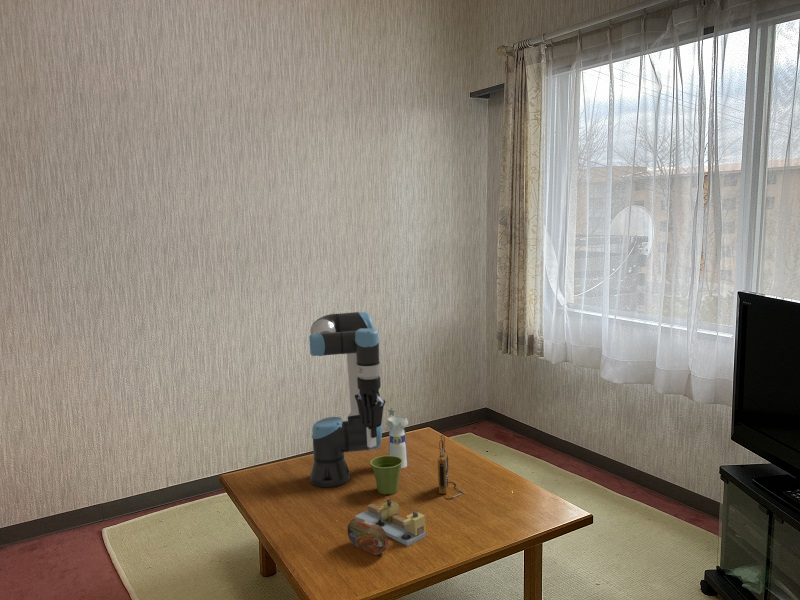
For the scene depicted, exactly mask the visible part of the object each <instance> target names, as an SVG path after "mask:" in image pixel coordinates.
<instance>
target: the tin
mask: <svg viewBox="0 0 800 600" xmlns="http://www.w3.org/2000/svg"><path fill="white" fill-rule="evenodd" d="M347 535H348V539H349V541H350V542H351V544H352V545H353V547H355V548H357V549H360V550H362V551H365V553H369V554H371V555H374V556H380V555H381V554H383V553H384V552H385V551H386V550H387V549H388V546H389V540H388V536H387V534H386V532H385V531H384V529H383V528H382V527H381V526H379V525H376V524H374V523H371V522H369V521H366V520H364V519H360V518H359V519H356V520H355V519H353V520H351V521H349V523H348V525H347Z"/></svg>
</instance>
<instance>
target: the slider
mask: <svg viewBox="0 0 800 600" xmlns="http://www.w3.org/2000/svg"><path fill="white" fill-rule="evenodd" d="M379 507H380V508H378V509H377V512H378V523H379V524H382V521H381V519H382V520H384V521H386V522H389V523H390V522H391V516H393V515H395V514H396V515H398V516H400V505H399V503H398V502H396V501H393V500H392V499H387V500H386V501H385V502H383V503H381V504H380V506H379Z"/></svg>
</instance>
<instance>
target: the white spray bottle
mask: <svg viewBox="0 0 800 600" xmlns="http://www.w3.org/2000/svg"><path fill="white" fill-rule="evenodd" d="M387 411H388V413H389V415H388V416H389V417H388V418H387V422H386V426H388V428H389V431H388V435H389V442H388V456H397V457H400V458H401V459H402V460H403V462H402V464H401V469H404V468H407V467H408V466H409V462H408V461H409V460H408V449H407V441H406V434H407V433H406V429H405V428H406V427H407V426H408V425H409V421H408V419H407V417H406V416H403V415H395V414H394V413H395V412H396V410H394V409H393V408H392V407H391V408H390V409H387Z"/></svg>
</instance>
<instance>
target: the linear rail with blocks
mask: <svg viewBox="0 0 800 600" xmlns="http://www.w3.org/2000/svg"><path fill="white" fill-rule="evenodd" d="M378 508H380V506H379V505H377V504H374V503H369V504H367V510H365V511H363V512H360V513H358V514H356V515H355V516H354V520H356V519H359V518H360V519H364V520H366V521H369V522H371V523H374V524H376V525H379V526H381V527H382V528H383V529H384V531H385V532H386V534H387V537H389V538H391V539H393V540H394V541H396V542H399V543H400V544H403V545H405V546H406V547H409V546H410V545H413V544H415V543H416V542H418V541H420V540H422V539H424V538H425V537H427V532H426V530H427V529H426V515H425V514H422V513H421V512H419V511H416V510H415V511H412V513H410V514H408V515H406V516H405V517H402V516H400V515H399V516H398V515H396V514H395V515H393V516H391V522H390V523H389V522H386V521H384V520H382V519H381V521H382V524H379V523H378V512H377V509H378Z"/></svg>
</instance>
